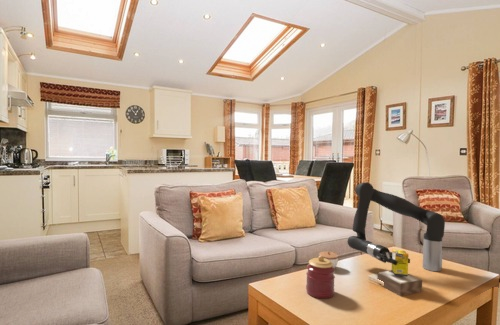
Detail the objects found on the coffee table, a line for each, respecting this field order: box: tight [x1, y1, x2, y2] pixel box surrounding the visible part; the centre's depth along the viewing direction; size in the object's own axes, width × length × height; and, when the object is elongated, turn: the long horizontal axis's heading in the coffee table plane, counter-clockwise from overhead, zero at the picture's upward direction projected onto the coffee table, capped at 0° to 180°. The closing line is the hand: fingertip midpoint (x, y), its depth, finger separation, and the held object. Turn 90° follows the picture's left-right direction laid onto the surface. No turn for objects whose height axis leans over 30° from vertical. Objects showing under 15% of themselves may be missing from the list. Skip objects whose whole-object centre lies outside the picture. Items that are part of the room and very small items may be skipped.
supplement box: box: [391, 249, 409, 276], centre depth 148 cm, size 6×6×11 cm
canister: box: [305, 255, 336, 300], centre depth 140 cm, size 13×13×18 cm
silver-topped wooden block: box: [377, 269, 423, 297], centre depth 148 cm, size 14×14×6 cm
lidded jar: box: [318, 251, 339, 268], centre depth 172 cm, size 11×11×9 cm
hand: (403, 262), depth 146 cm, fingers open, 8 cm apart
